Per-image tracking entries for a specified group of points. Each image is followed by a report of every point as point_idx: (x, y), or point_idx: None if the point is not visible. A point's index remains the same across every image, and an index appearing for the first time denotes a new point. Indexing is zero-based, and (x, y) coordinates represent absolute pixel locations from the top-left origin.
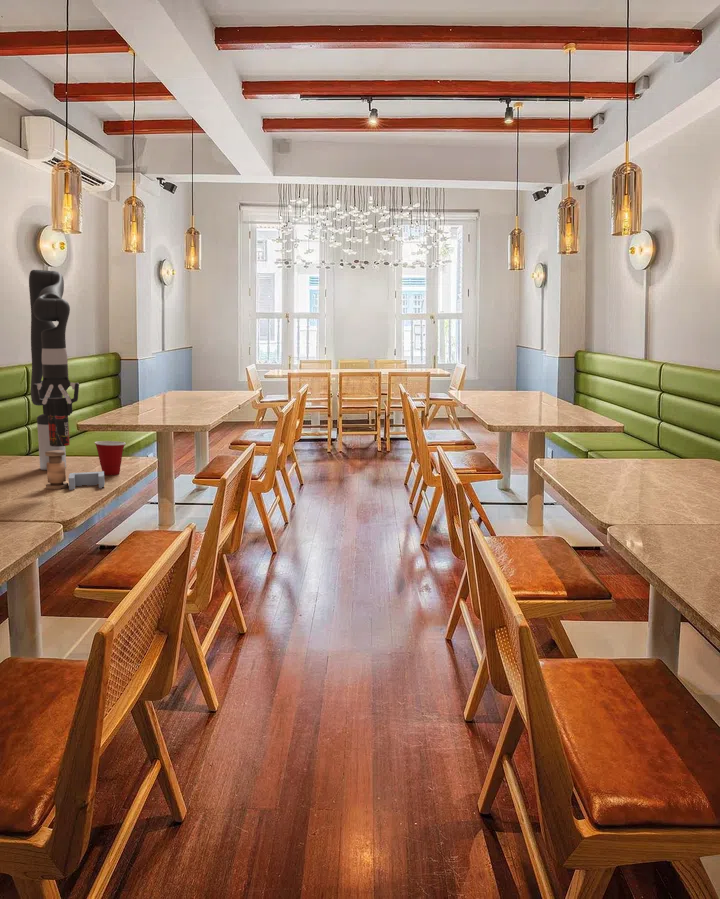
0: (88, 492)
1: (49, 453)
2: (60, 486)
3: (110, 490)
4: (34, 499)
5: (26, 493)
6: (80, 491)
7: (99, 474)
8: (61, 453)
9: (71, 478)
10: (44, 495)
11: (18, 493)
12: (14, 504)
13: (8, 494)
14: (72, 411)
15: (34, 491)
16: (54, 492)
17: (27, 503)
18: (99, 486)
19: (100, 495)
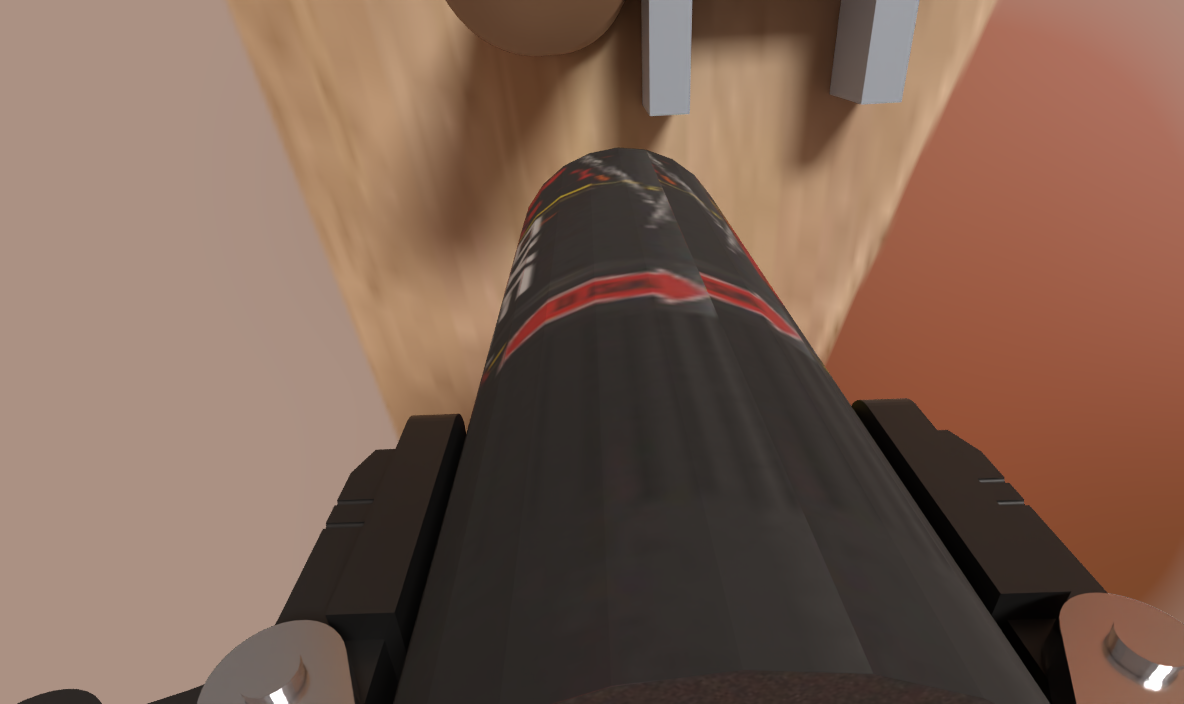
0: (756, 206)
1: (489, 42)
2: (583, 46)
3: (886, 180)
4: (481, 314)
5: (391, 139)
6: (711, 163)
7: (883, 10)
8: (609, 18)
9: (670, 113)
10: (513, 226)
11: (340, 125)
12: (412, 395)
13: (287, 141)
14: (980, 459)
15: (424, 84)
16: (558, 153)
17: (468, 389)
18: (837, 94)
19: (813, 302)
